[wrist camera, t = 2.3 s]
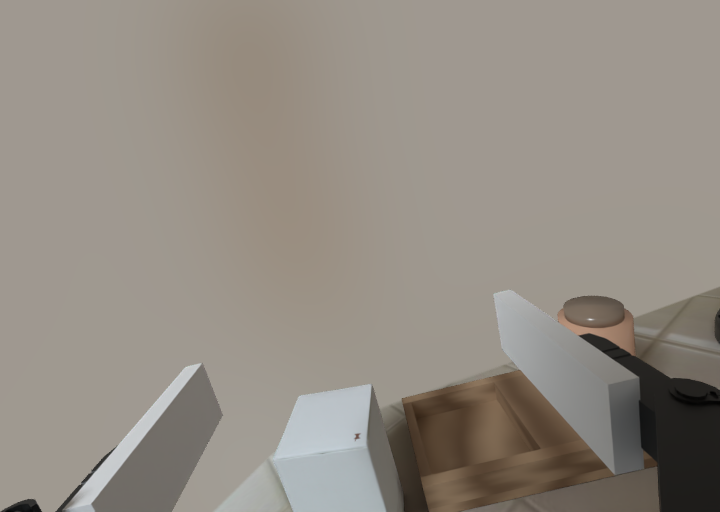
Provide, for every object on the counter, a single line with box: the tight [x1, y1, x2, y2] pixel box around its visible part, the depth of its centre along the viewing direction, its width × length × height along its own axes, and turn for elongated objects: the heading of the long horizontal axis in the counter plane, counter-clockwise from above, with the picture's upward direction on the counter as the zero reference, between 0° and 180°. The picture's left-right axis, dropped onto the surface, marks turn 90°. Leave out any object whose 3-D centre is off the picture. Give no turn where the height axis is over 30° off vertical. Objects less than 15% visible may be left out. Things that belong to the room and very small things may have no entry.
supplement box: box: [273, 384, 404, 512], centre depth 29 cm, size 7×7×13 cm
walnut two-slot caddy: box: [402, 370, 657, 512], centre depth 35 cm, size 26×12×4 cm, turn 93°
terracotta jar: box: [558, 296, 636, 357], centre depth 34 cm, size 6×6×12 cm
